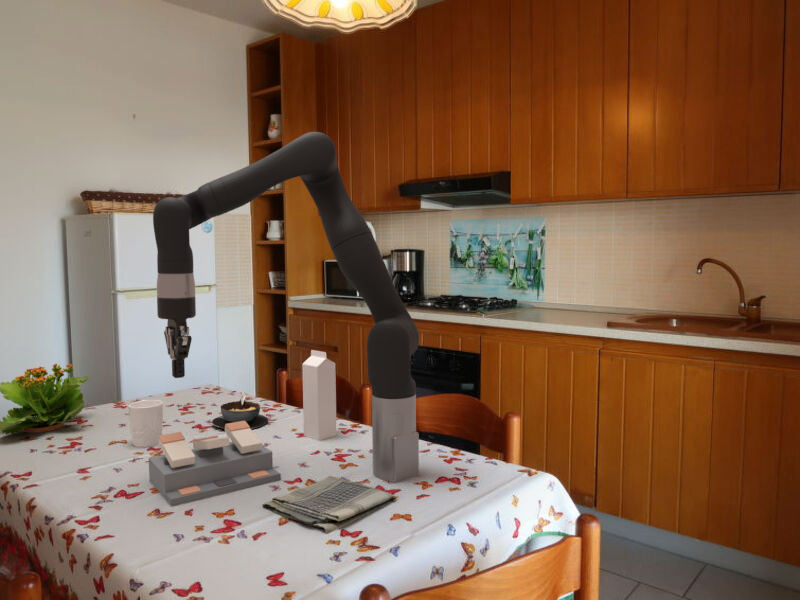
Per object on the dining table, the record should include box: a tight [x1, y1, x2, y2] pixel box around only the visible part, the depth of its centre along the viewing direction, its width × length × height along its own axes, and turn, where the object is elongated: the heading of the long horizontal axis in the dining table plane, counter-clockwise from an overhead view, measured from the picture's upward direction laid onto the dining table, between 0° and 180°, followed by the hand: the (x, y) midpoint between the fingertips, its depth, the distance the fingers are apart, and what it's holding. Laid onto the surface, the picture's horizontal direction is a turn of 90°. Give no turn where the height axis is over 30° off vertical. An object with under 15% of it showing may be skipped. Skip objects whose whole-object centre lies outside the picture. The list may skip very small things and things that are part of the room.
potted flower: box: [0, 363, 90, 435], centre depth 166 cm, size 25×24×18 cm
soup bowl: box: [211, 390, 269, 430], centre depth 168 cm, size 15×16×7 cm
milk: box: [301, 349, 337, 441], centre depth 156 cm, size 6×6×22 cm
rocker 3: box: [224, 421, 263, 454], centre depth 132 cm, size 10×4×2 cm, turn 36°
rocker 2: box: [192, 435, 230, 449], centre depth 128 cm, size 10×4×2 cm, turn 36°
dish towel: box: [262, 475, 397, 535], centre depth 114 cm, size 19×18×3 cm
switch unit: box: [148, 441, 282, 507], centre depth 126 cm, size 16×22×6 cm
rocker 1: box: [157, 431, 195, 468], centre depth 124 cm, size 10×4×2 cm, turn 36°
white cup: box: [128, 399, 164, 448], centre depth 152 cm, size 8×8×10 cm
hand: (178, 377), depth 129 cm, fingers closed
